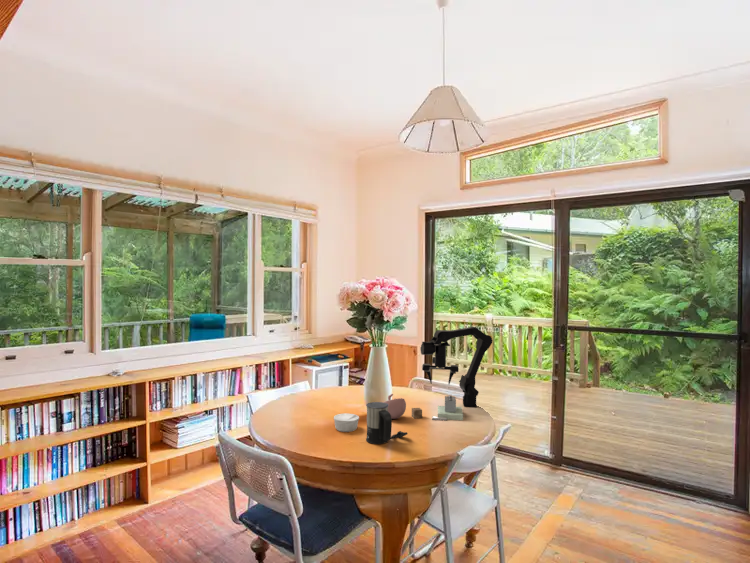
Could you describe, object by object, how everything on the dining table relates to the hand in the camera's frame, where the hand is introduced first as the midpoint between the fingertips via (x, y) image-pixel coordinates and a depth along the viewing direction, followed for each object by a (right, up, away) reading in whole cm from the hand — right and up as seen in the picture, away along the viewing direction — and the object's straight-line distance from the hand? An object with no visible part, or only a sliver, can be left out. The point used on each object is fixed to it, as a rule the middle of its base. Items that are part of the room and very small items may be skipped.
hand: (440, 384), depth 235 cm
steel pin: (-3, -11, -23) cm, 26 cm away
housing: (+3, -9, -15) cm, 18 cm away
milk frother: (-29, -12, -50) cm, 59 cm away
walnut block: (-14, -12, -18) cm, 26 cm away
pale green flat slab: (+3, -12, -15) cm, 19 cm away
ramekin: (-47, -12, -37) cm, 61 cm away
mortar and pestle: (-25, -12, -21) cm, 35 cm away
